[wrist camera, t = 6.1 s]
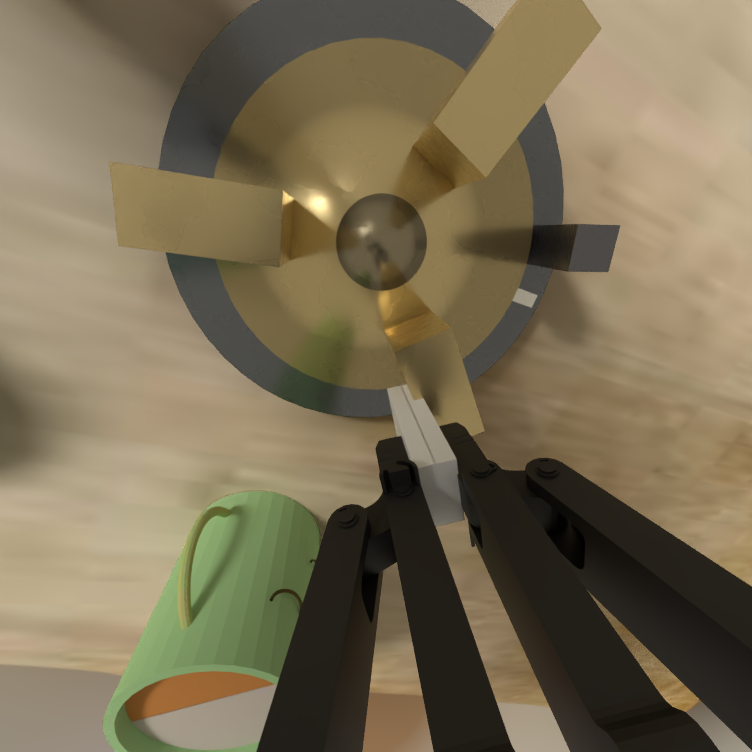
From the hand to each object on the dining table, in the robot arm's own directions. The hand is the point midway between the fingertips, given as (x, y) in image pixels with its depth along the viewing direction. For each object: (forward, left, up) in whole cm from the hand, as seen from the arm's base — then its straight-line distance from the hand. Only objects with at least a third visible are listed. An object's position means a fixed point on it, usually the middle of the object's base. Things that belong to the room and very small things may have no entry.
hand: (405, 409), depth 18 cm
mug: (+14, -10, -7) cm, 19 cm away
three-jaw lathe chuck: (-7, -1, -5) cm, 8 cm away
